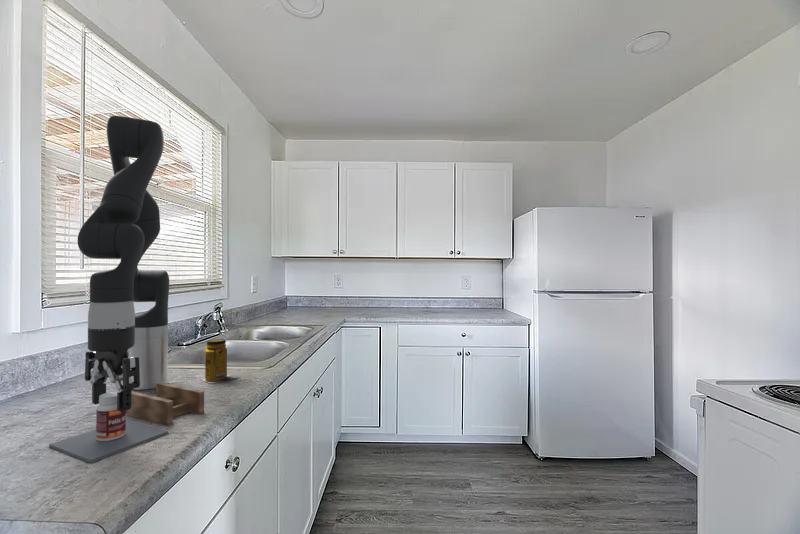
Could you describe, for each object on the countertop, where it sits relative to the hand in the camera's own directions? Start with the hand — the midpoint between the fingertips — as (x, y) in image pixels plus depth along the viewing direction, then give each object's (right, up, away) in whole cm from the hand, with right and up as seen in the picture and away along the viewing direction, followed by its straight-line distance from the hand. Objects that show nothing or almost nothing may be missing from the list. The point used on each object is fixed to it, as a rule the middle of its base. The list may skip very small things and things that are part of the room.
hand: (111, 406), depth 79 cm
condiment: (+2, -7, +44) cm, 44 cm away
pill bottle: (0, -6, 0) cm, 6 cm away
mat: (0, -7, 0) cm, 7 cm away
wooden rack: (+2, -7, +15) cm, 16 cm away
